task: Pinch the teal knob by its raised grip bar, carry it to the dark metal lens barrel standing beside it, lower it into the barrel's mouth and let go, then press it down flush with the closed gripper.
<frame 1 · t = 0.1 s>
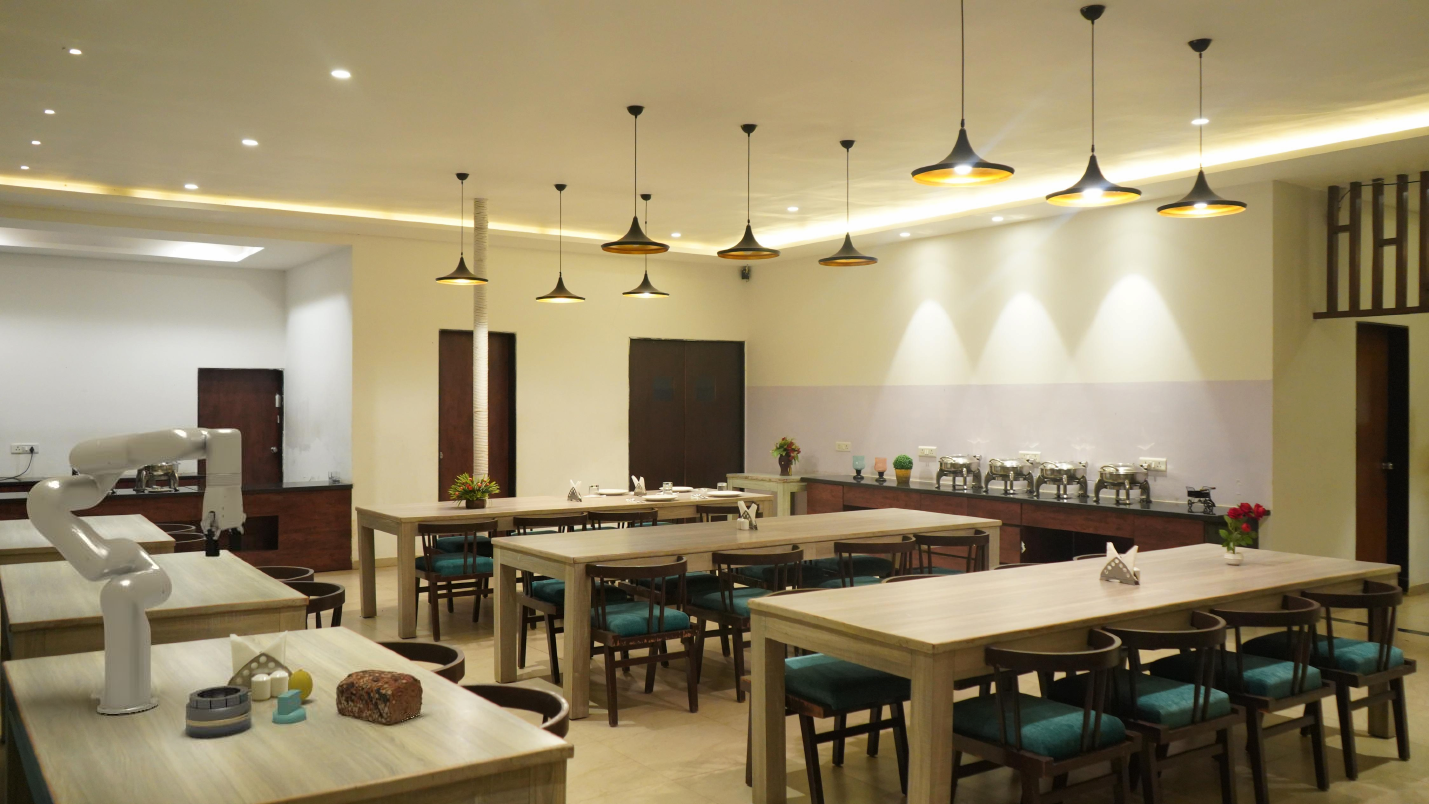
hand: (224, 553, 241), 37 cm above the table, tool pointing down, fingers open, 9 cm apart
lemon: (300, 703, 247), on the table
bread: (378, 716, 237), on the table
teal knob: (289, 719, 234), on the table
lens barrel: (219, 728, 227), on the table
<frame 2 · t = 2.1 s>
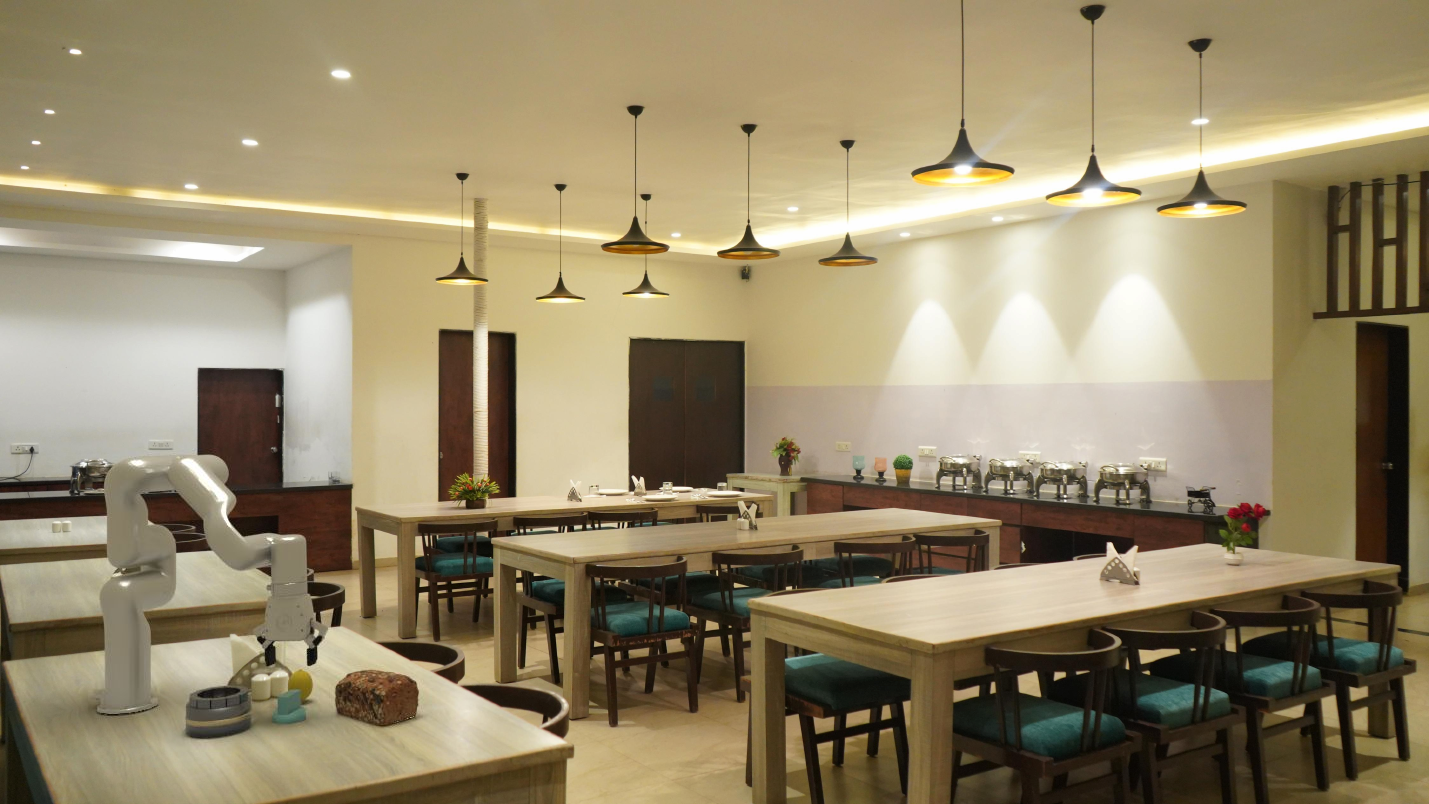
hand: (291, 664, 233), 12 cm above the table, tool pointing down, fingers open, 9 cm apart
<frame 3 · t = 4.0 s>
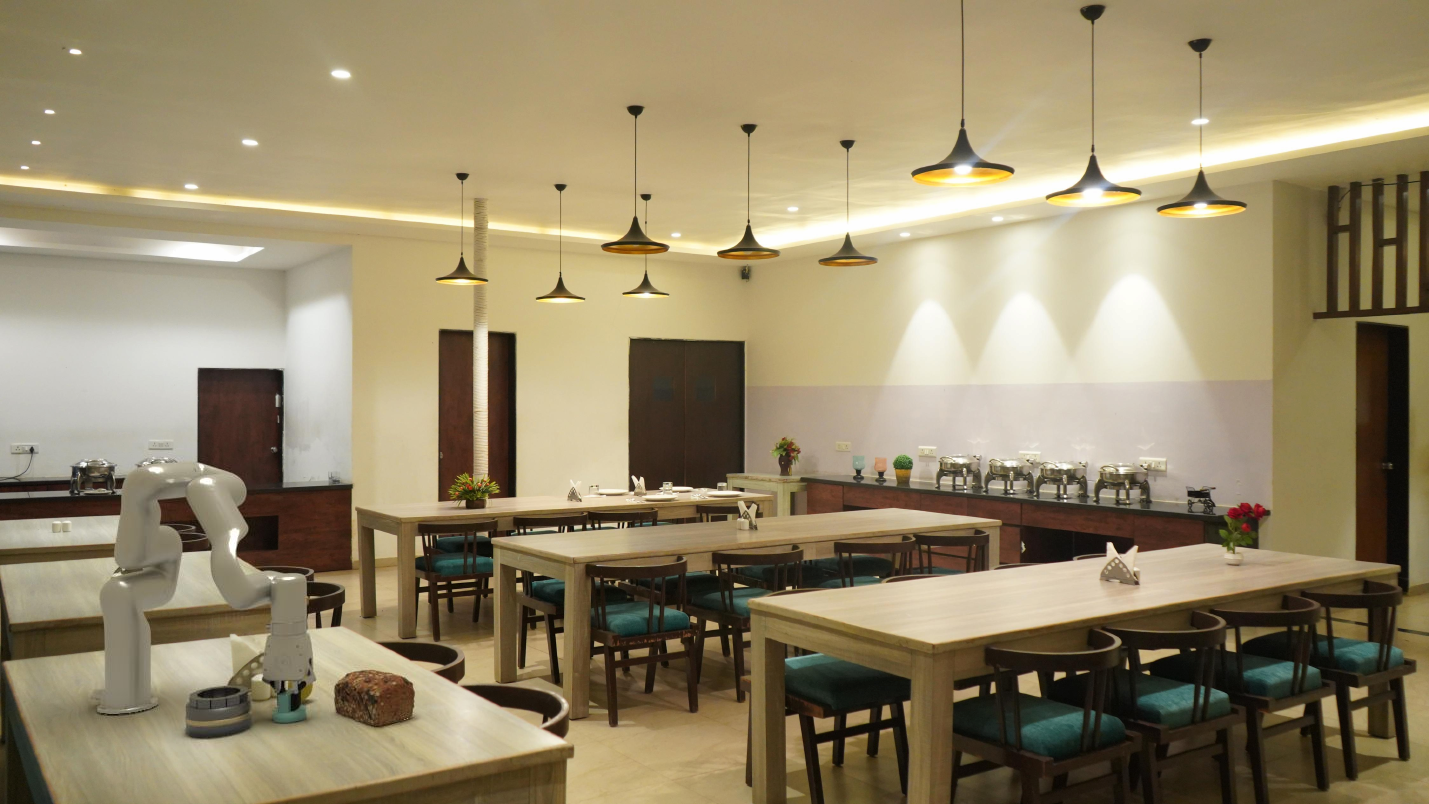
hand: (289, 708, 234), 2 cm above the table, tool pointing down, fingers closed on teal knob
teal knob: (289, 717, 234), on the table, touching gripper
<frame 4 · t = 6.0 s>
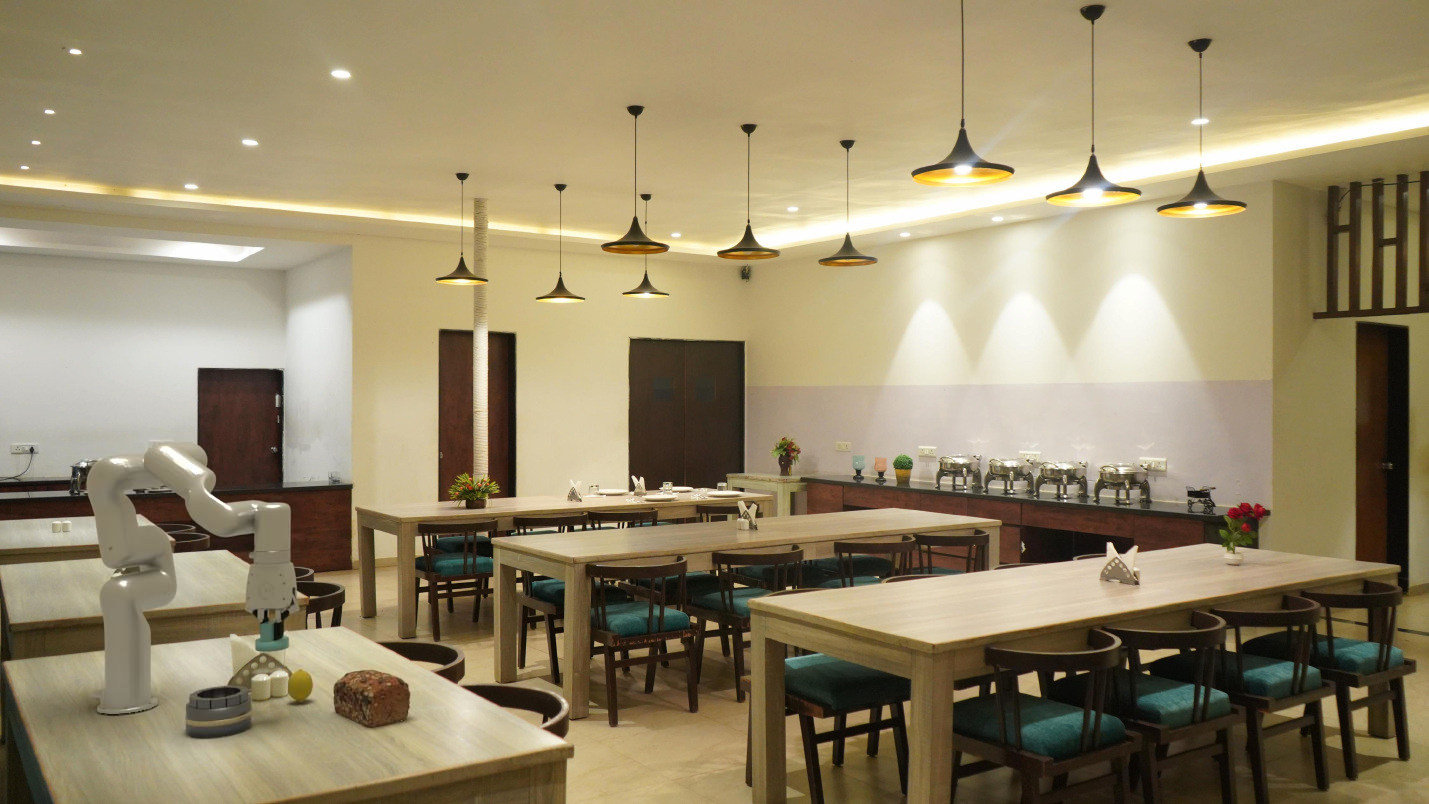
hand: (271, 638, 232), 19 cm above the table, tool pointing down, fingers closed on teal knob
teal knob: (272, 647, 232), point 17 cm above the table, touching gripper
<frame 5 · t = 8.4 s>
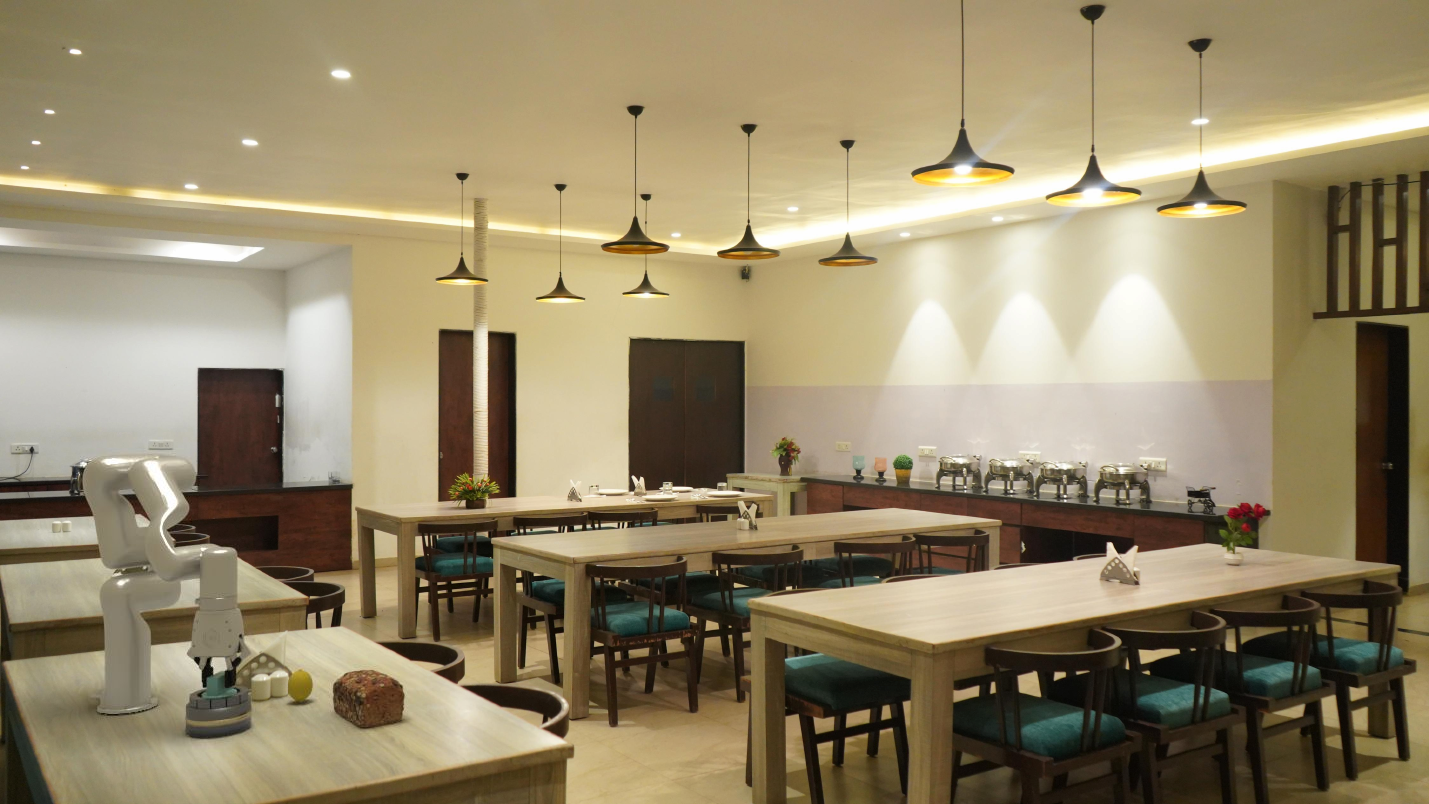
hand: (219, 685, 227), 10 cm above the table, tool pointing down, fingers open, 4 cm apart
teal knob: (219, 701, 227), point 6 cm above the table, touching lens barrel
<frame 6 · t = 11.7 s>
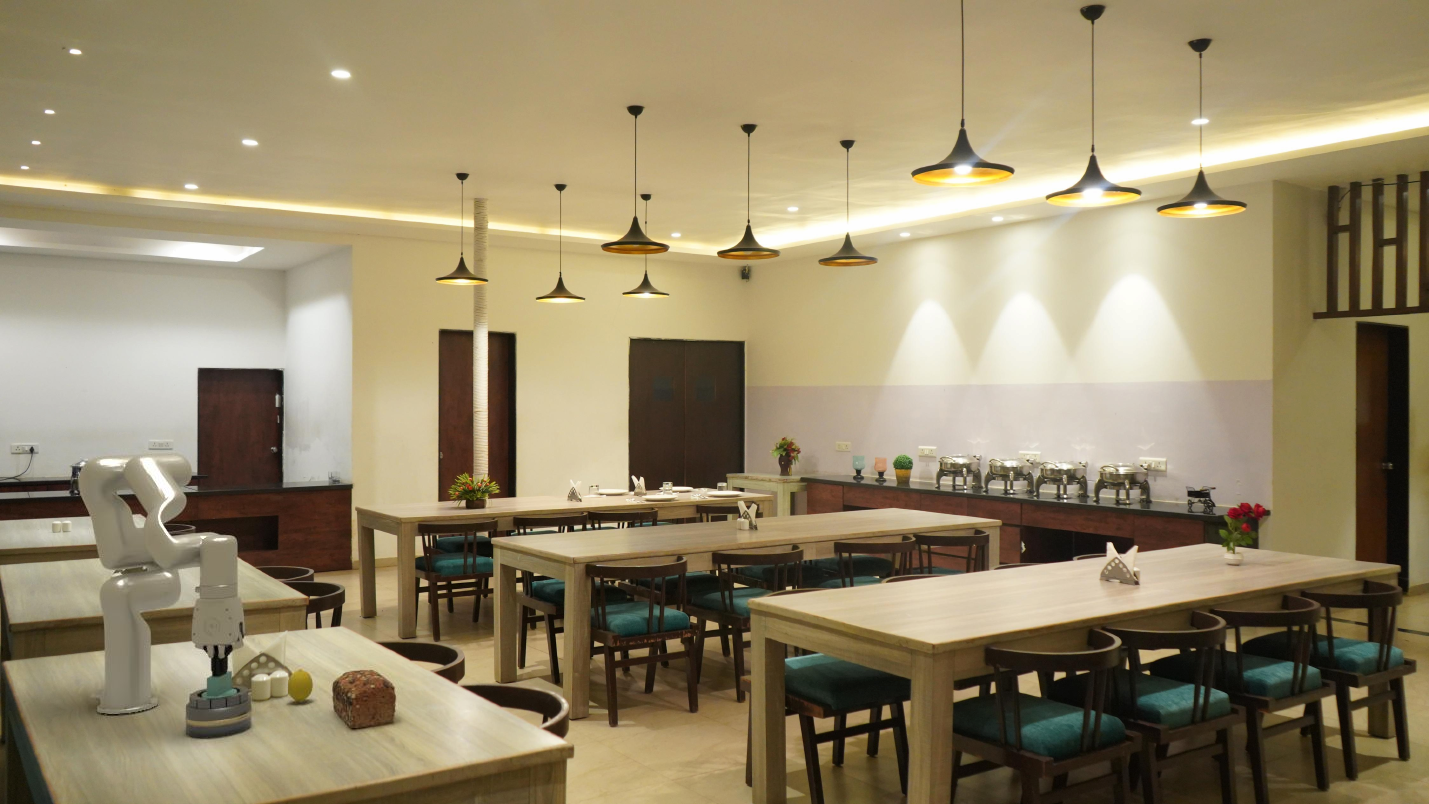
hand: (219, 674, 227), 12 cm above the table, tool pointing down, fingers closed
teal knob: (219, 701, 227), point 6 cm above the table, touching gripper, lens barrel
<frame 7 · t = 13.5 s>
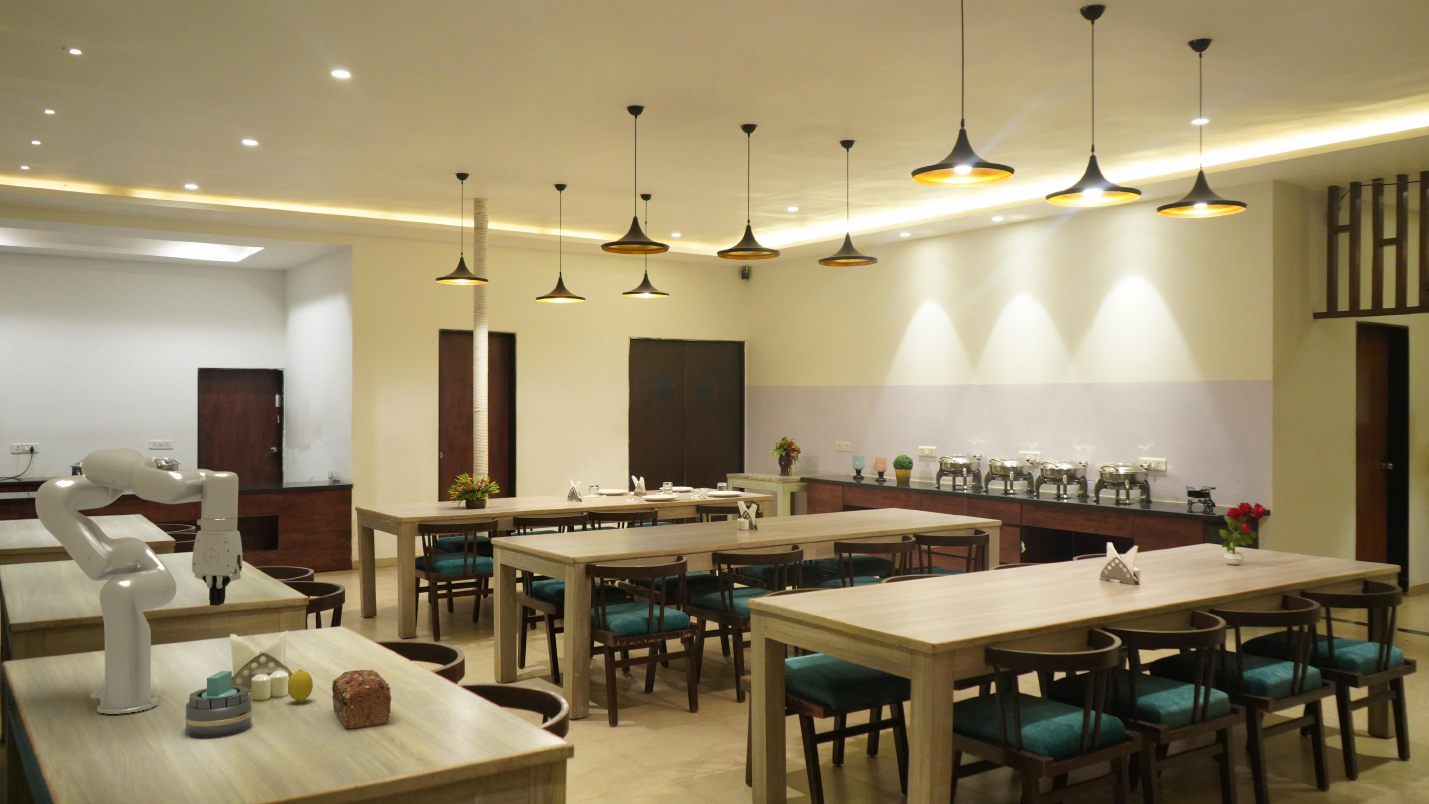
hand: (217, 604, 237), 26 cm above the table, tool pointing down, fingers closed
teal knob: (219, 701, 227), point 6 cm above the table, touching lens barrel
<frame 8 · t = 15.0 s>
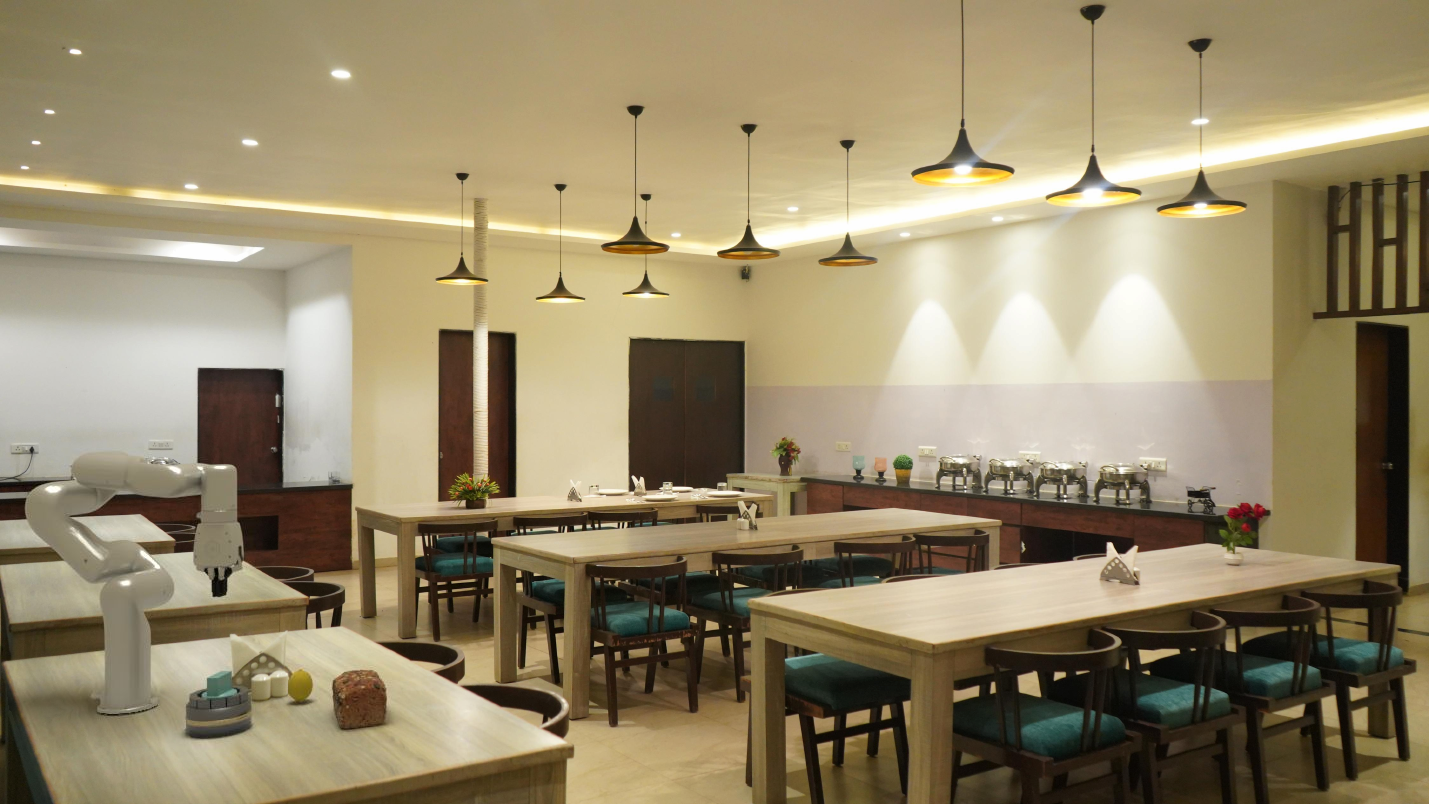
hand: (219, 595, 239), 27 cm above the table, tool pointing down, fingers closed
at the end: teal knob 0.1 cm off-centre on the lens barrel, point 6.0 cm above the lens barrel's base; teal knob tilted 0°; the gripper is holding nothing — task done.
